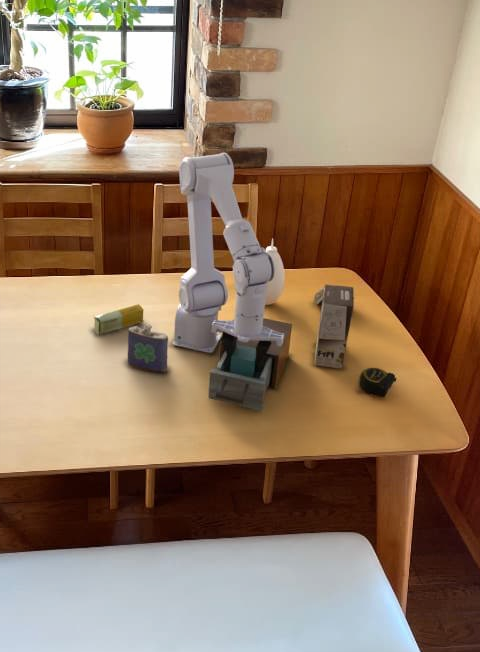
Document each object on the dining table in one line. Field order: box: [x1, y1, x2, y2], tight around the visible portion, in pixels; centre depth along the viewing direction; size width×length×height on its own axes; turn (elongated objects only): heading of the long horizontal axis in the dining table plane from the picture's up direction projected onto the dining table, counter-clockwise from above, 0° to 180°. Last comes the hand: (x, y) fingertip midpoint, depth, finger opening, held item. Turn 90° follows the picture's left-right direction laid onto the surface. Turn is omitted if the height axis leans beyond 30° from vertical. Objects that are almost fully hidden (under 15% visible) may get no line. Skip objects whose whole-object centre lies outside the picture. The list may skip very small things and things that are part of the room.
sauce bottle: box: [265, 237, 286, 306], centre depth 195 cm, size 8×8×18 cm
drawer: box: [207, 351, 275, 412], centre depth 165 cm, size 18×11×7 cm, turn 161°
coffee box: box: [314, 284, 355, 370], centre depth 177 cm, size 9×6×16 cm
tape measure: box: [358, 367, 398, 398], centre depth 170 cm, size 7×7×4 cm
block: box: [230, 345, 256, 378], centre depth 165 cm, size 5×5×5 cm
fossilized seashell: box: [313, 285, 325, 307], centre depth 198 cm, size 8×7×10 cm
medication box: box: [93, 303, 145, 336], centre depth 188 cm, size 12×3×4 cm, turn 120°
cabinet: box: [218, 317, 293, 390], centre depth 175 cm, size 14×13×9 cm
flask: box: [127, 324, 169, 374], centre depth 173 cm, size 9×3×11 cm, turn 68°
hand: (244, 366), depth 166 cm, fingers closed on block, 5 cm apart
